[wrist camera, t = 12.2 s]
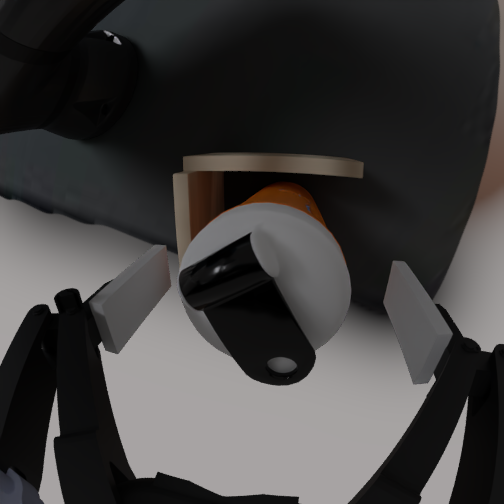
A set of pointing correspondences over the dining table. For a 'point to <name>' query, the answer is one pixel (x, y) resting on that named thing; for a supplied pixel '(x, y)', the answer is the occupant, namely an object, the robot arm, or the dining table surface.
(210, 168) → the bookend
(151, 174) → the dining table surface
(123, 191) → the dining table surface
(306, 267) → the shaker bottle
